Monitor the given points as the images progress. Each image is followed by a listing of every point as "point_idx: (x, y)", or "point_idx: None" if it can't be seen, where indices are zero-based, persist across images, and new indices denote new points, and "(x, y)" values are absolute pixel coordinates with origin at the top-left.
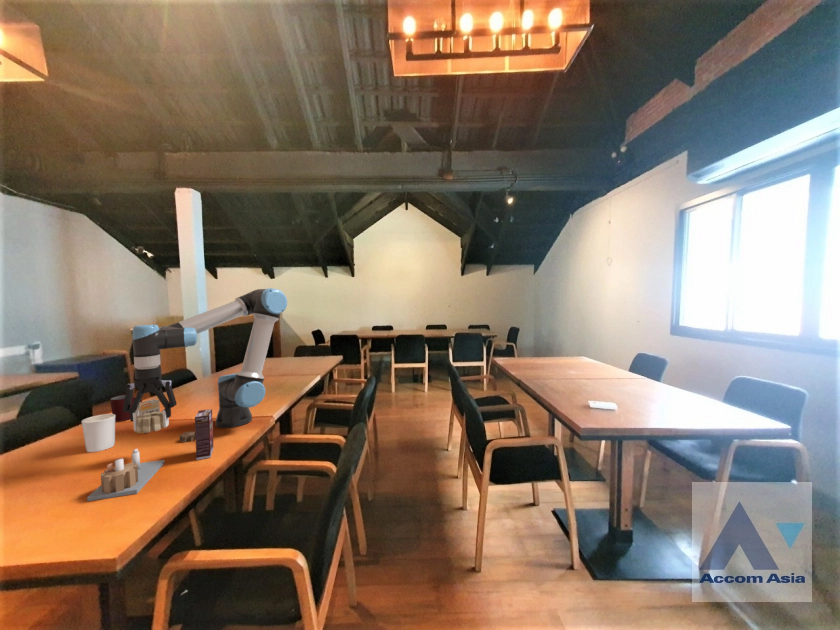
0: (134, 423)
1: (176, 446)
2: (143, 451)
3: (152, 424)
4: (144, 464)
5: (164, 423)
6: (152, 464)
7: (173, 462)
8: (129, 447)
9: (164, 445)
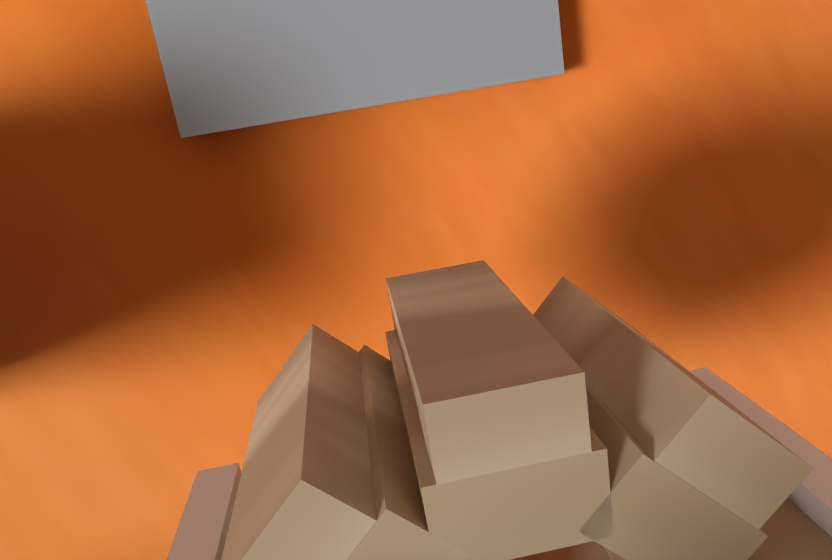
0: (781, 442)
1: None
2: None
3: (374, 405)
4: (342, 50)
5: (202, 515)
6: (245, 31)
7: (95, 138)
8: None
9: None
